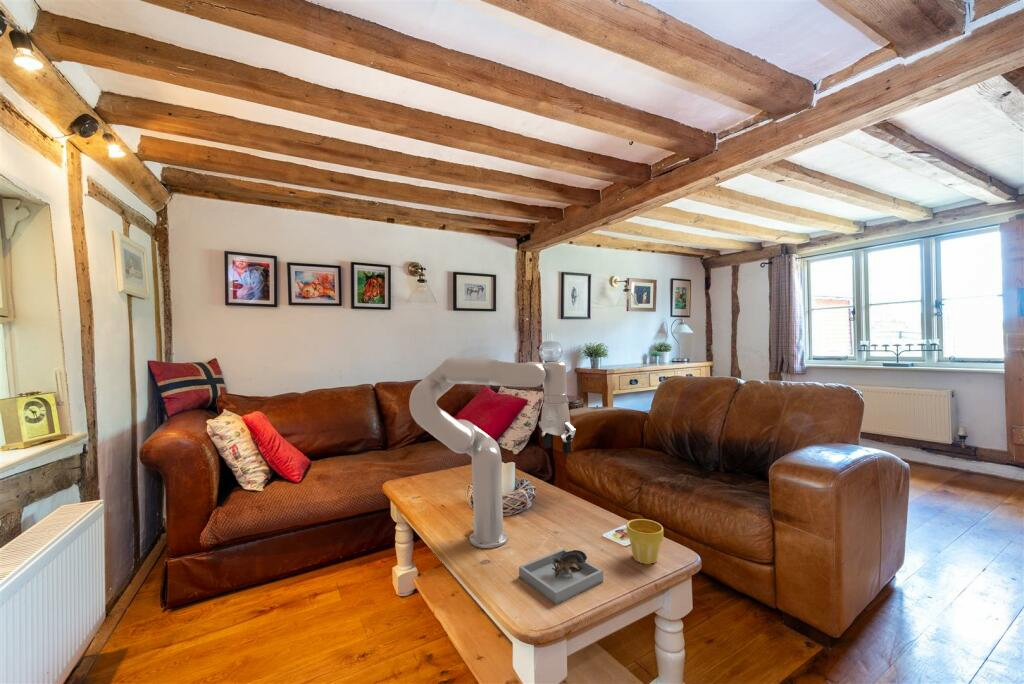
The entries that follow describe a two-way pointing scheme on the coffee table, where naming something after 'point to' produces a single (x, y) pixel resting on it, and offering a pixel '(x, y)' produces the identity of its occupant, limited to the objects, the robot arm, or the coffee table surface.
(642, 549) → the plant pot
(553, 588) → the bin
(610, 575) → the coffee table surface
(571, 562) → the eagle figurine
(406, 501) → the coffee table surface
